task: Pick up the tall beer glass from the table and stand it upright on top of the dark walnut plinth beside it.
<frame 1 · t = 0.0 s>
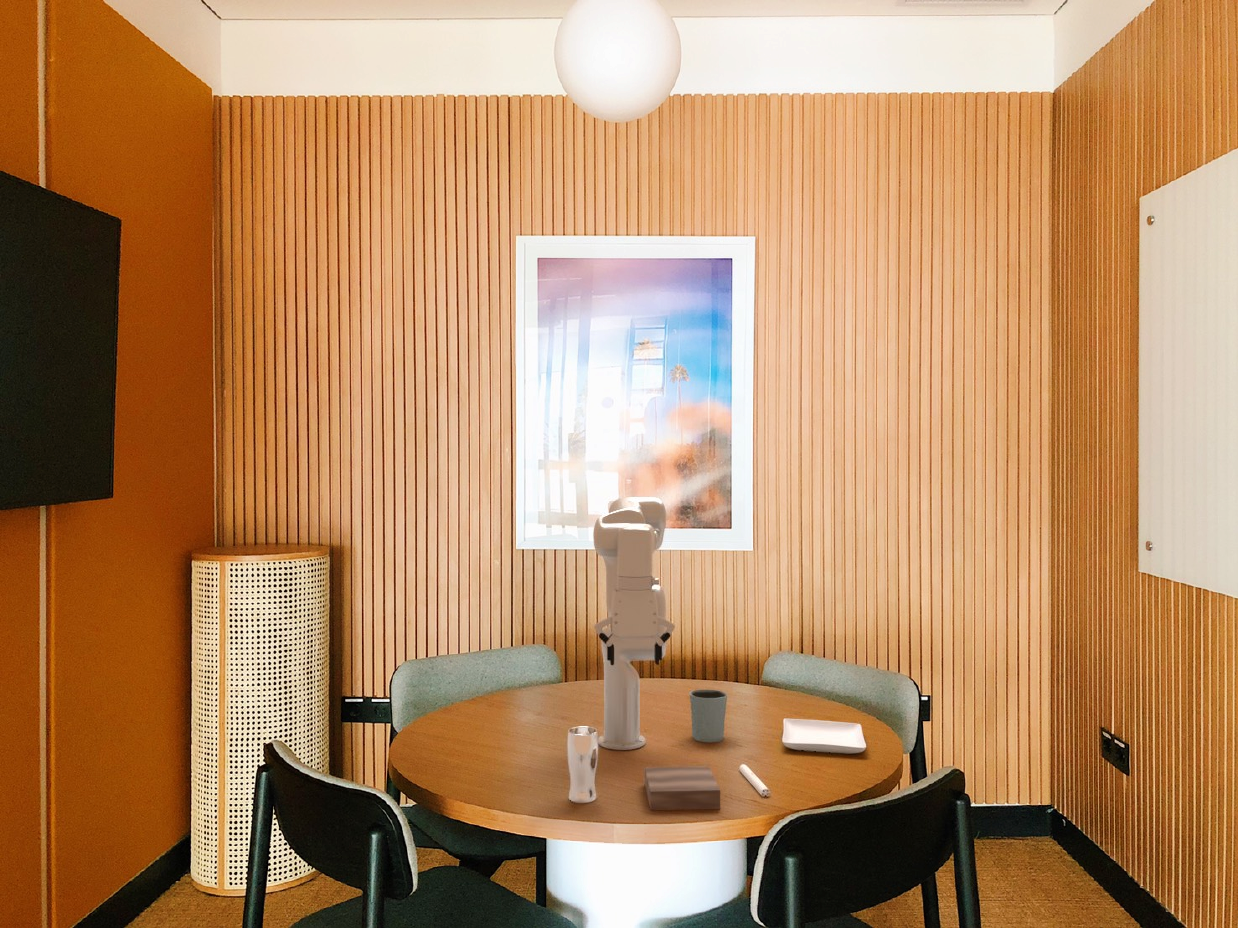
hand: (634, 663, 182), 31 cm above the table, tool pointing down, fingers open, 9 cm apart
grey green cup: (708, 738, 232), on the table
marker: (752, 784, 198), on the table
salad plate: (822, 744, 228), on the table
beer glass: (582, 799, 188), on the table
walnut plinth: (681, 796, 189), on the table
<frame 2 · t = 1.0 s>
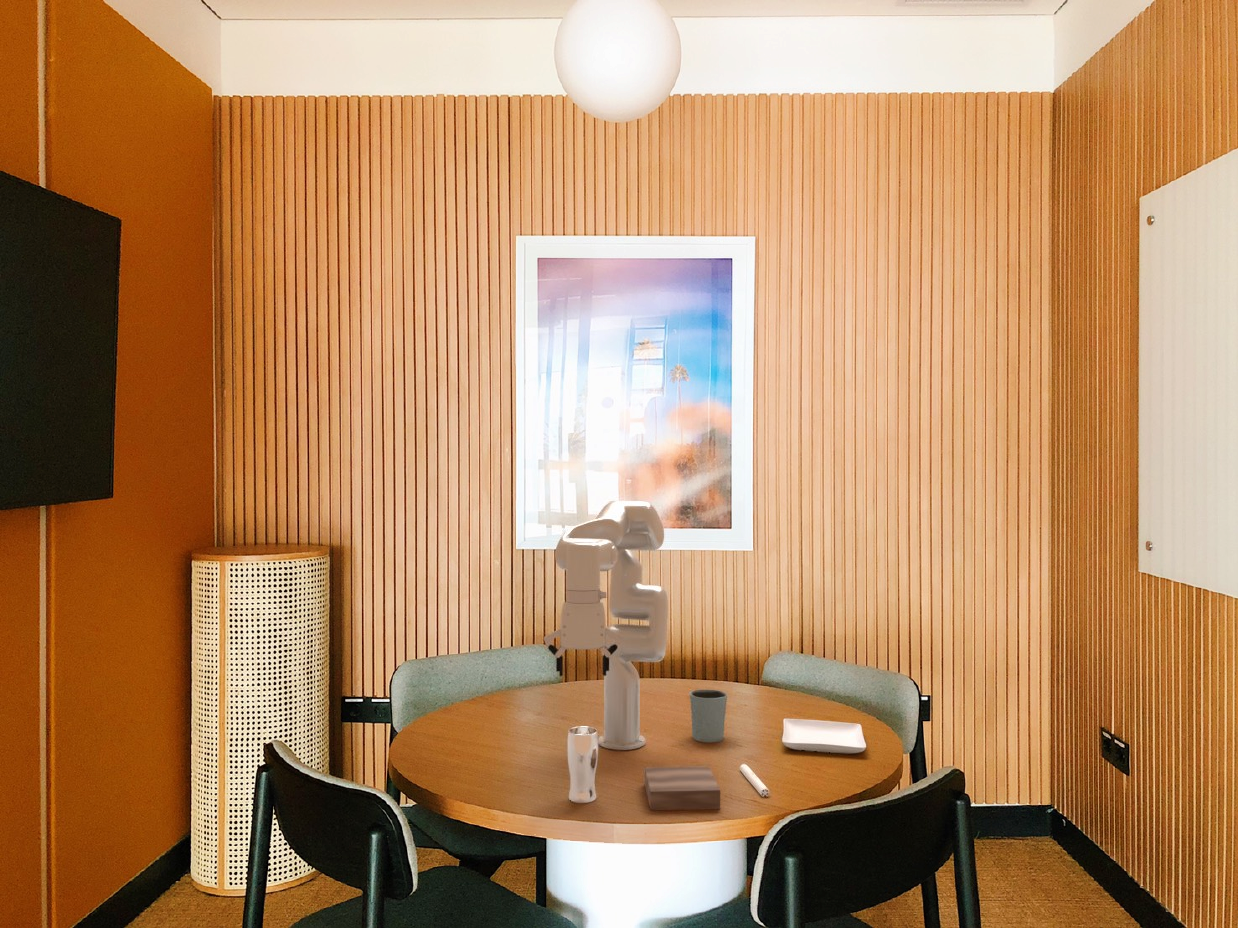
hand: (582, 674, 188), 27 cm above the table, tool pointing down, fingers open, 9 cm apart
nothing on the table moved.
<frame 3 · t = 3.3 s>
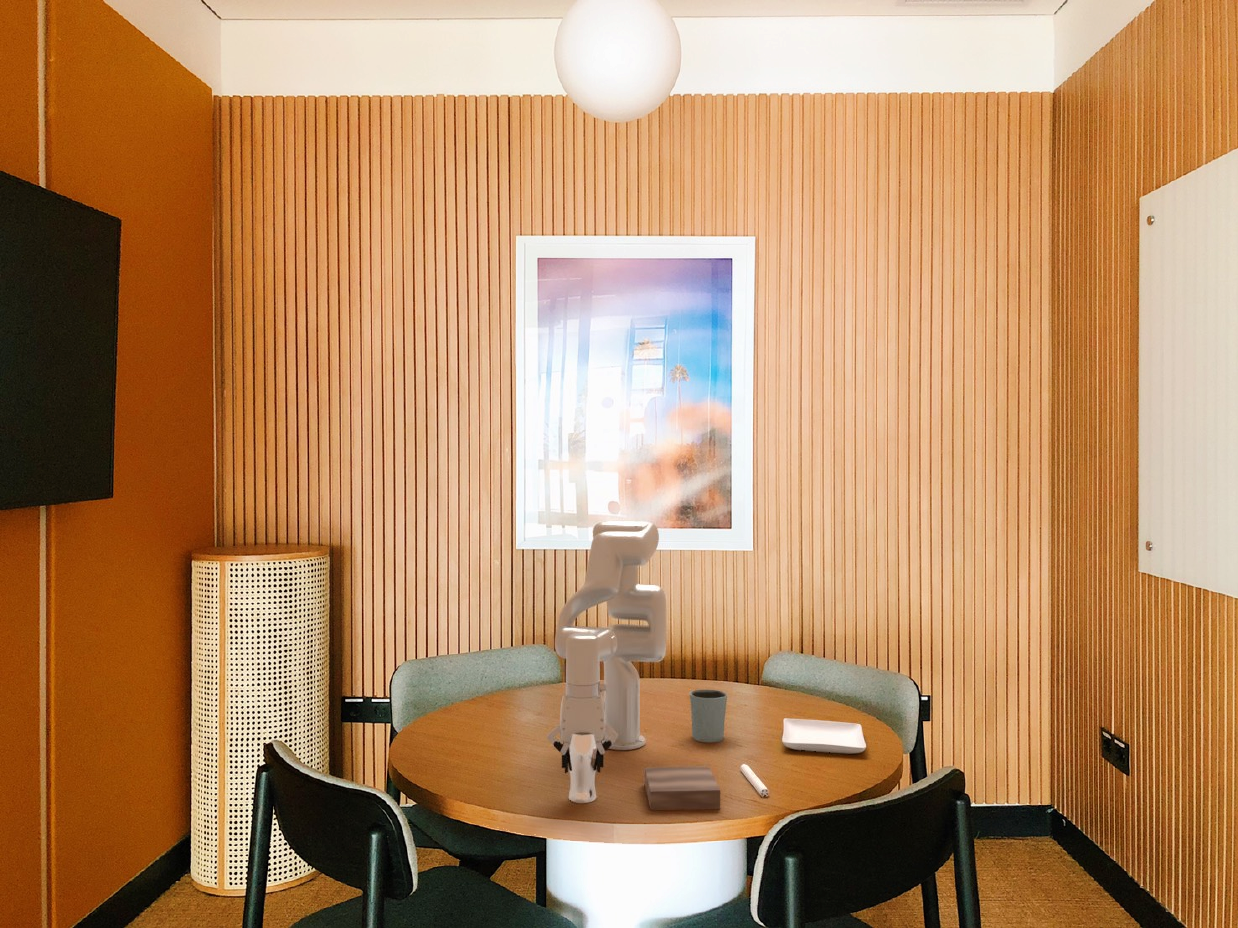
hand: (582, 770, 188), 6 cm above the table, tool pointing down, fingers closed on beer glass, 6 cm apart
beer glass: (582, 799, 188), on the table, touching gripper
everything else where it was.
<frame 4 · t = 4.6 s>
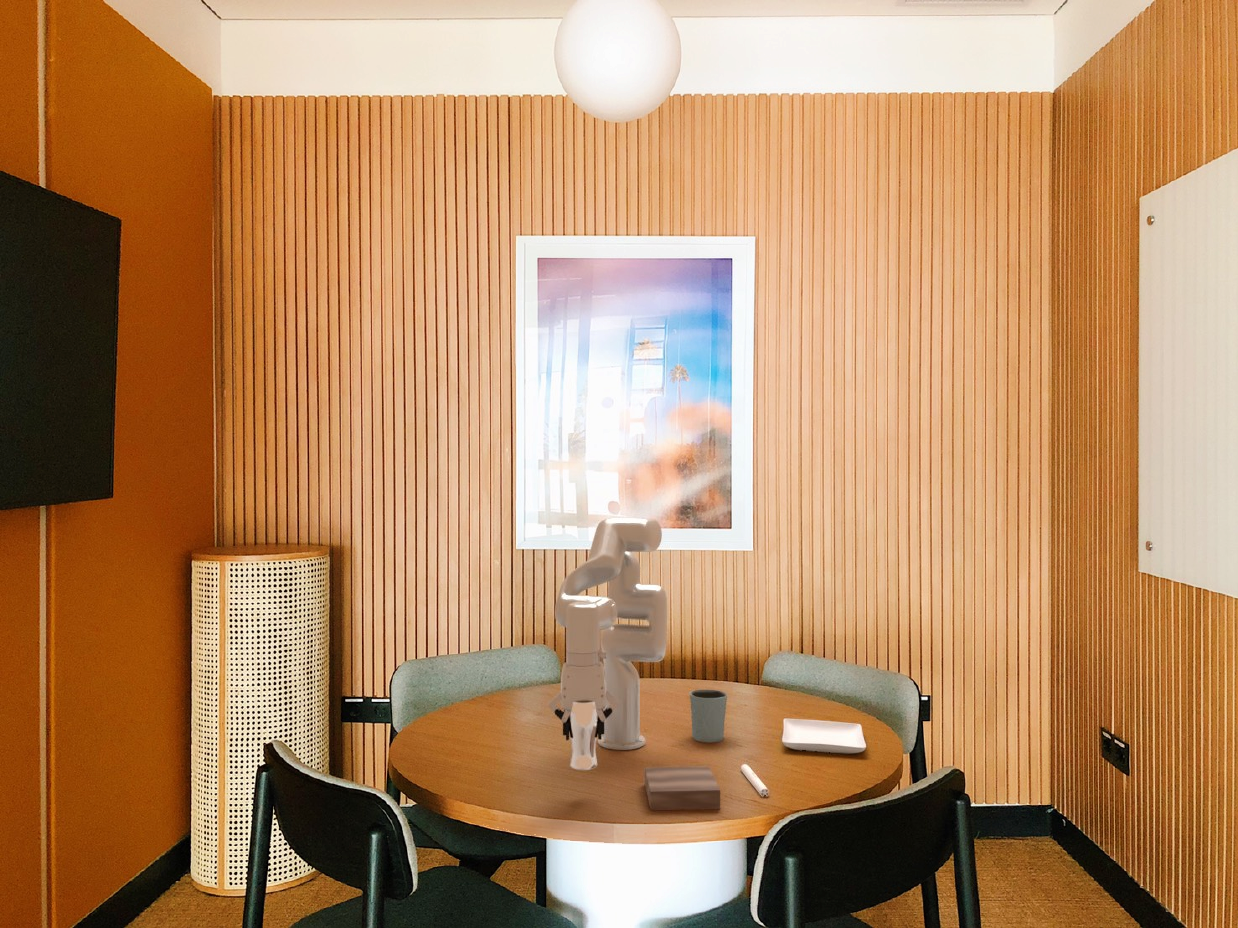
hand: (583, 737, 189), 13 cm above the table, tool pointing down, fingers closed on beer glass, 6 cm apart
beer glass: (583, 765, 189), point 7 cm above the table, touching gripper
everything else where it was.
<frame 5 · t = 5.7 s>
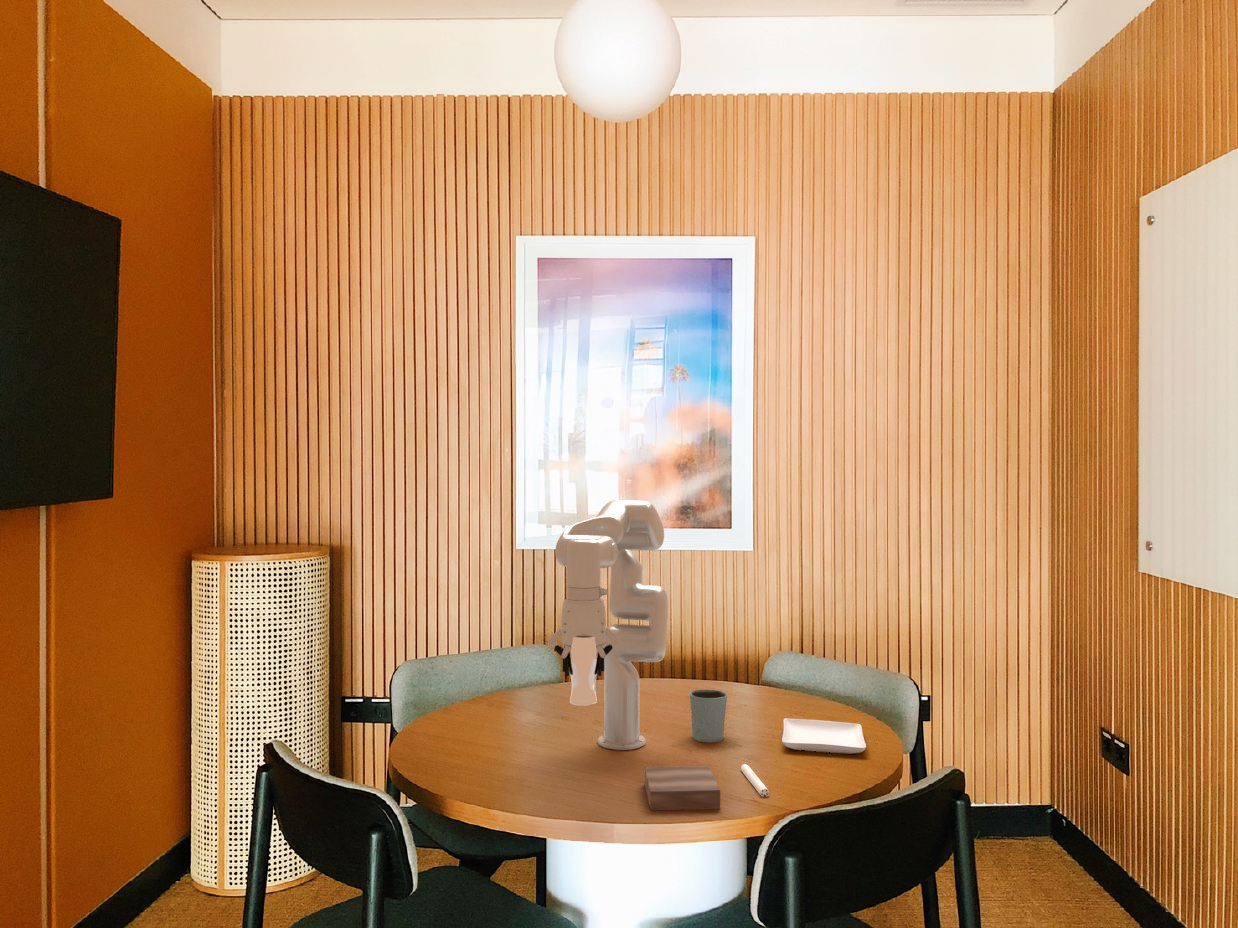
hand: (583, 674, 188), 27 cm above the table, tool pointing down, fingers closed on beer glass, 6 cm apart
beer glass: (583, 703, 188), point 21 cm above the table, touching gripper
everything else where it was.
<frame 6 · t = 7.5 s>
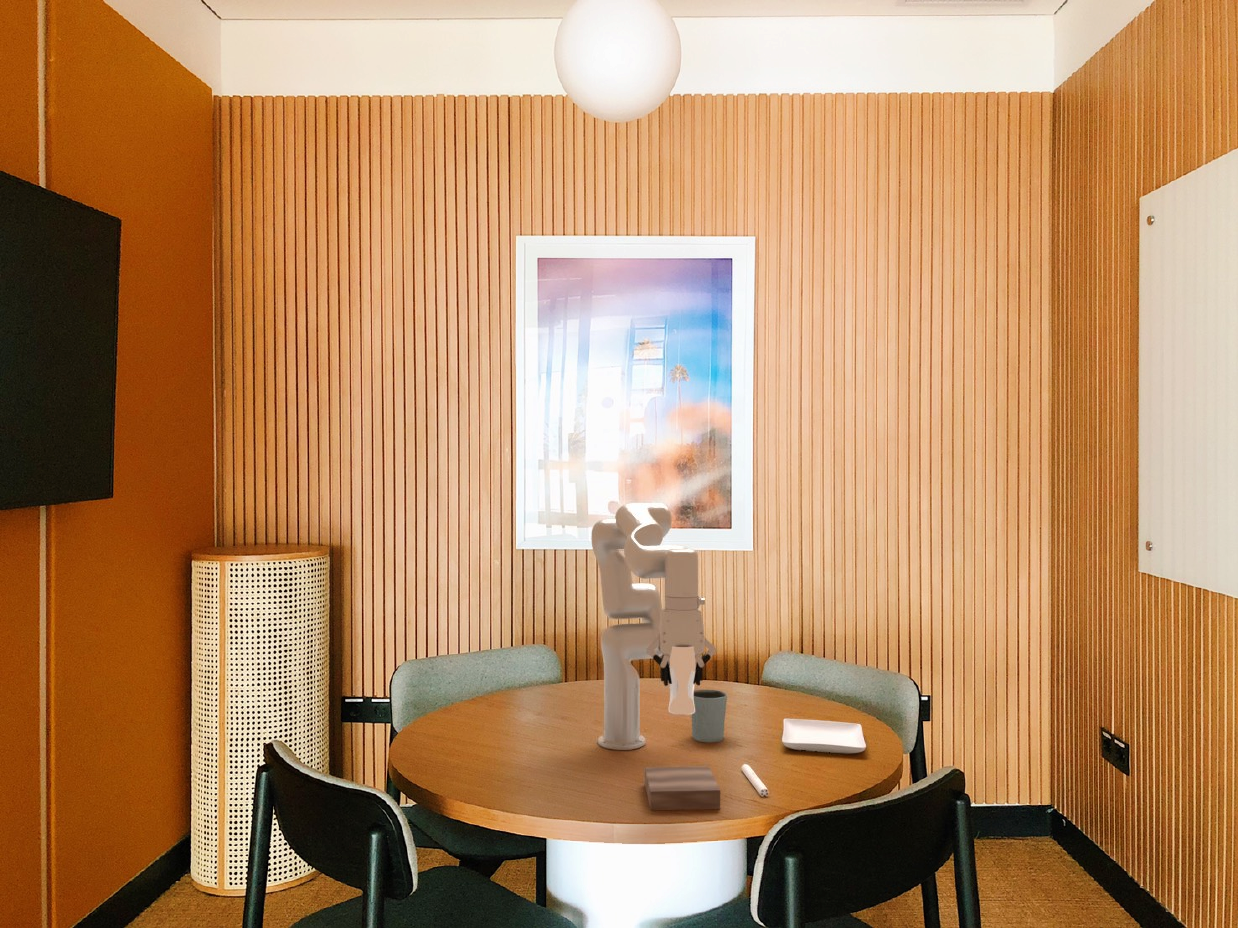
hand: (681, 683, 189), 25 cm above the table, tool pointing down, fingers closed on beer glass, 6 cm apart
beer glass: (681, 712, 189), point 19 cm above the table, touching gripper
everything else where it was.
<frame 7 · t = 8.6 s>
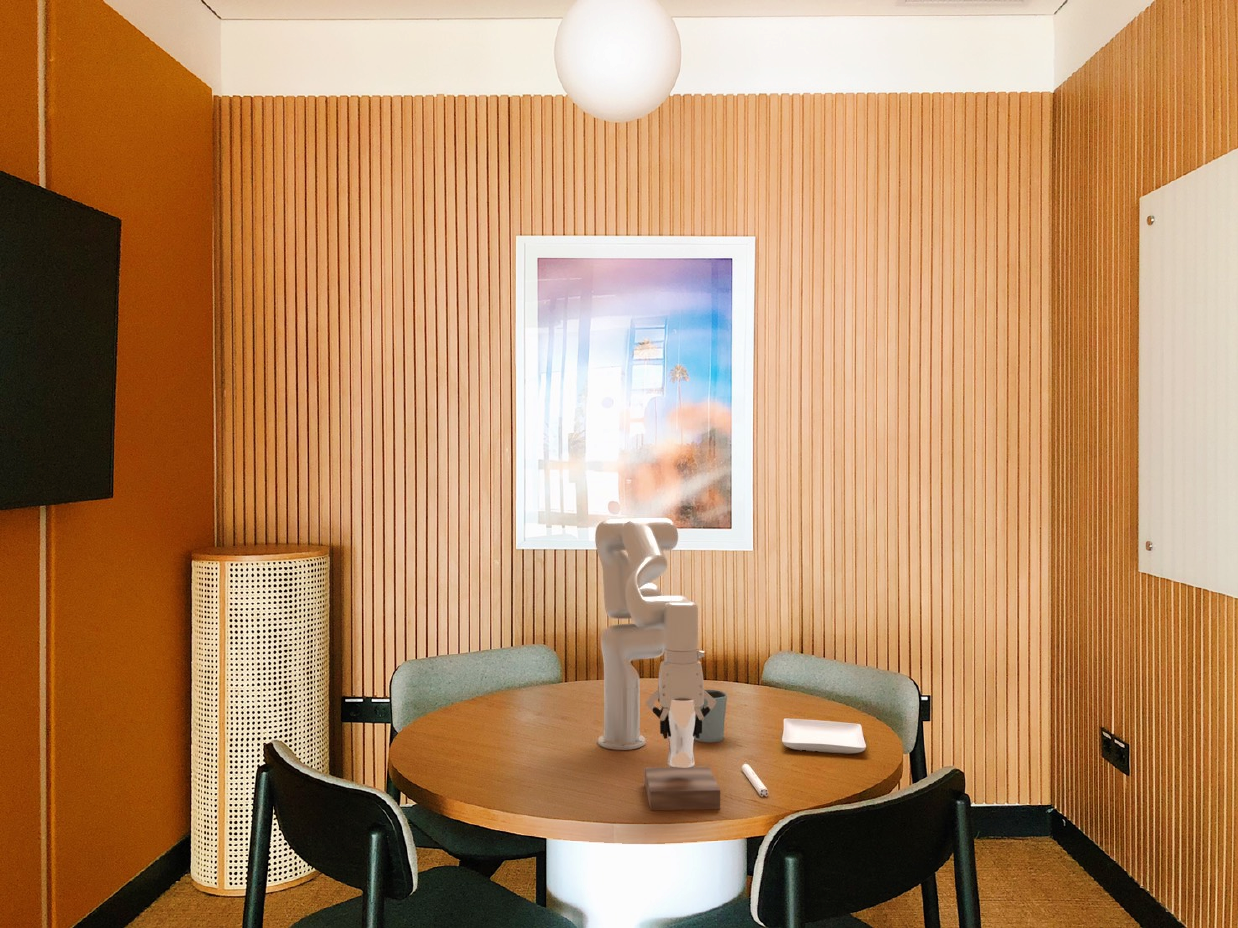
hand: (680, 735, 189), 13 cm above the table, tool pointing down, fingers closed on beer glass, 6 cm apart
beer glass: (681, 764, 189), point 7 cm above the table, touching gripper
everything else where it was.
when the fingers open (11 cm above the table, at t = 9.5 s): beer glass drops 1 cm, resting on walnut plinth.
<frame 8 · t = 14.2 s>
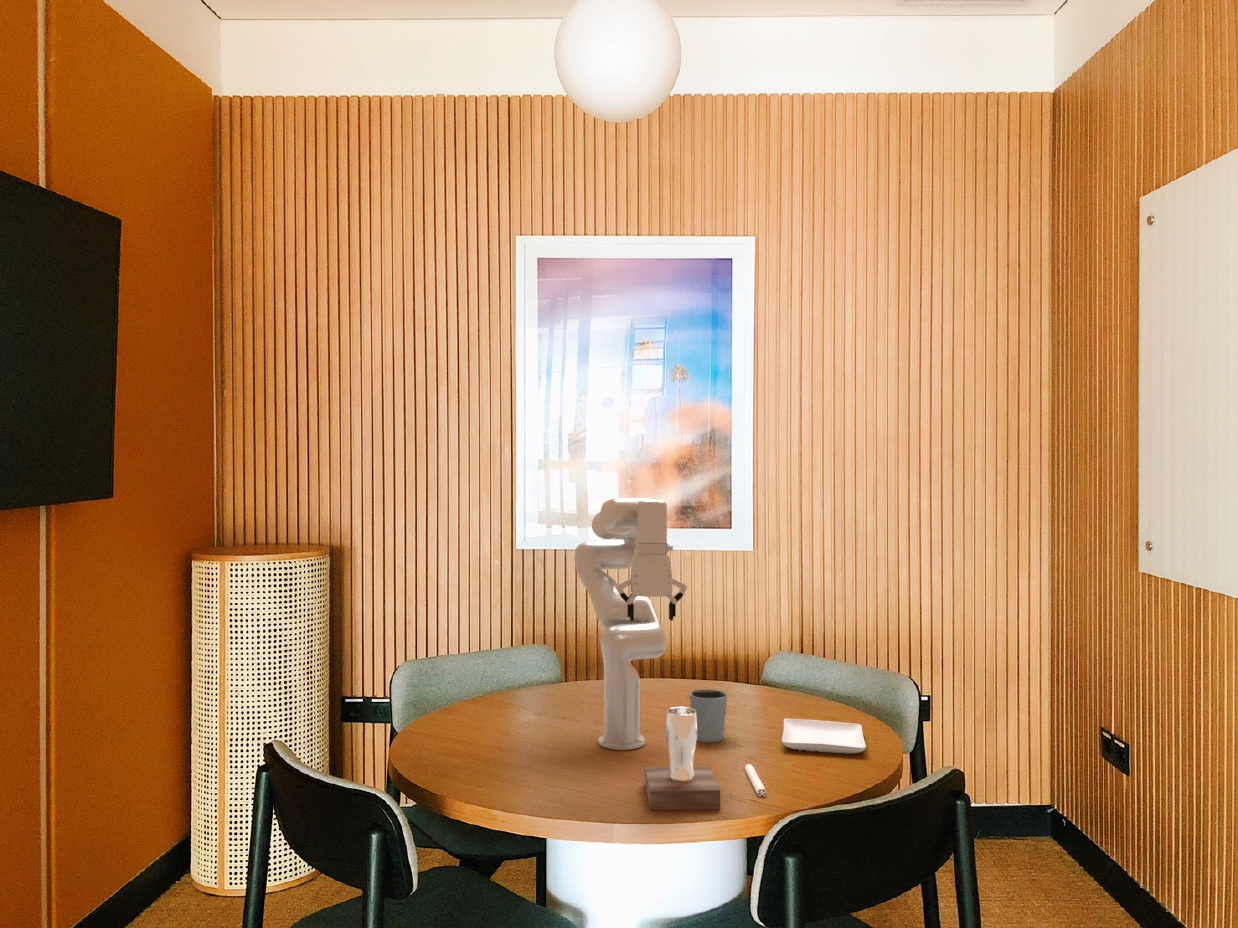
hand: (651, 619, 207), 36 cm above the table, tool pointing down, fingers open, 9 cm apart
beer glass: (681, 778, 189), point 4 cm above the table, touching walnut plinth
everything else where it was.
at the end: beer glass inside the target area on the walnut plinth (0.2 cm from its centre), point 3.8 cm above the walnut plinth's base; beer glass tilted 0°; the gripper is holding nothing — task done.
